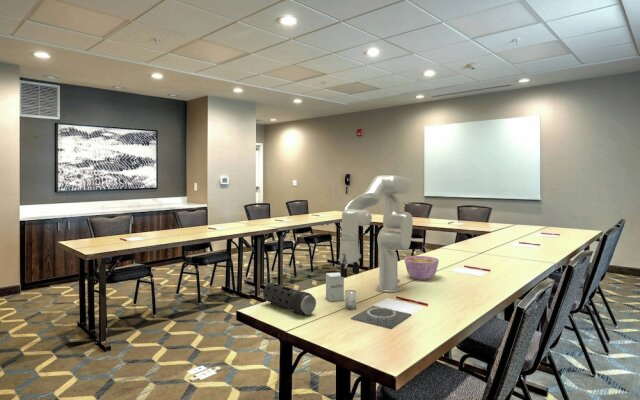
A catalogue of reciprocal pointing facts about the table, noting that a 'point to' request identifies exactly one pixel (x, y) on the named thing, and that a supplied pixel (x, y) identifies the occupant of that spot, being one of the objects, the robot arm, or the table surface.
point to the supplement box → (334, 287)
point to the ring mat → (381, 317)
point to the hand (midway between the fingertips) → (349, 275)
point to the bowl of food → (421, 266)
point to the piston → (350, 299)
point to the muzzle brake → (290, 298)
